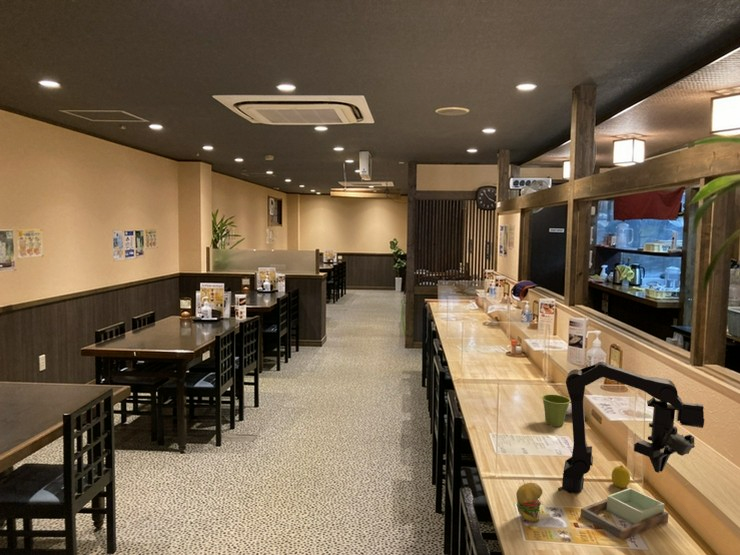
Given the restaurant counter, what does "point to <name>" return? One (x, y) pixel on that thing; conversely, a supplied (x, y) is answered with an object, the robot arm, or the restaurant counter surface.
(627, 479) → the lemon
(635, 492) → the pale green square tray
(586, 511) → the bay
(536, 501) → the hamburger
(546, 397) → the plant pot
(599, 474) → the restaurant counter surface
